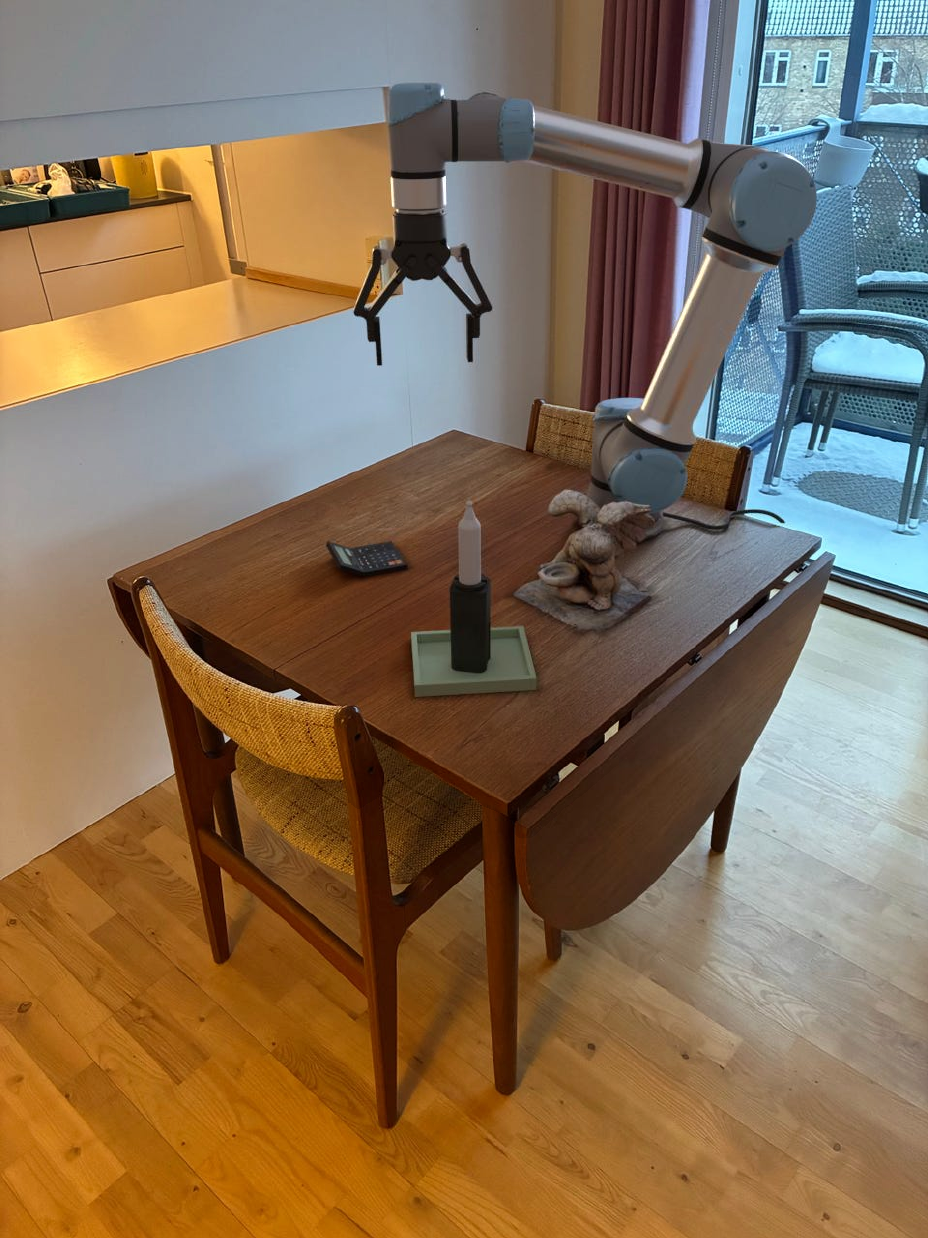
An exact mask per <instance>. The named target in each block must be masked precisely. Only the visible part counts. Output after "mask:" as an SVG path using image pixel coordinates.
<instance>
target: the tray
mask: <svg viewBox="0 0 928 1238" xmlns="http://www.w3.org/2000/svg"><path fill="white" fill-rule="evenodd" d="M410 641H411V656H412V671H413V672H412V673H413V687H414V688H413V689H414V697H415V698H423V697H438V696H439V697H440V696H456V695H458V696H459V695H473V694H489V693H490V694H492V693H509V692H524V691H536V690H537V682H538V681H537V680H538V678H537V674H536V671H535V666H534V663H533V658H532V655H531V650H530V647H529V643H528V638H527V635H526V631H525V627H524V625H515V626H498V627H497V626H495V627H491V659H489V661H488V664H487V670H486V671H485V672H483V673H469V672H460V671H455V670H453V669H452V667H451V632H450V629H440V630H426V631H425V630H424V631H423V630H422V631H411V632H410Z"/></svg>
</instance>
